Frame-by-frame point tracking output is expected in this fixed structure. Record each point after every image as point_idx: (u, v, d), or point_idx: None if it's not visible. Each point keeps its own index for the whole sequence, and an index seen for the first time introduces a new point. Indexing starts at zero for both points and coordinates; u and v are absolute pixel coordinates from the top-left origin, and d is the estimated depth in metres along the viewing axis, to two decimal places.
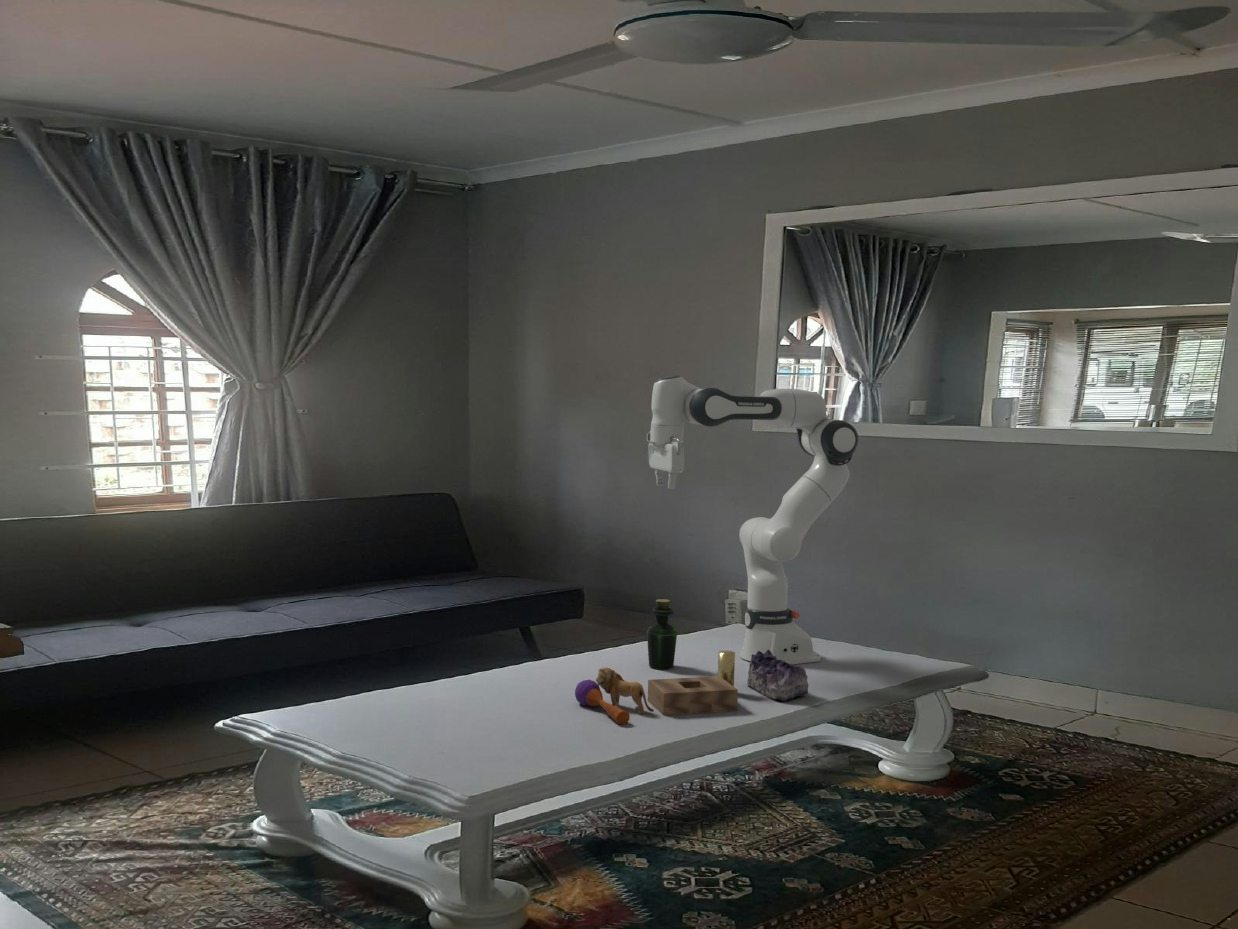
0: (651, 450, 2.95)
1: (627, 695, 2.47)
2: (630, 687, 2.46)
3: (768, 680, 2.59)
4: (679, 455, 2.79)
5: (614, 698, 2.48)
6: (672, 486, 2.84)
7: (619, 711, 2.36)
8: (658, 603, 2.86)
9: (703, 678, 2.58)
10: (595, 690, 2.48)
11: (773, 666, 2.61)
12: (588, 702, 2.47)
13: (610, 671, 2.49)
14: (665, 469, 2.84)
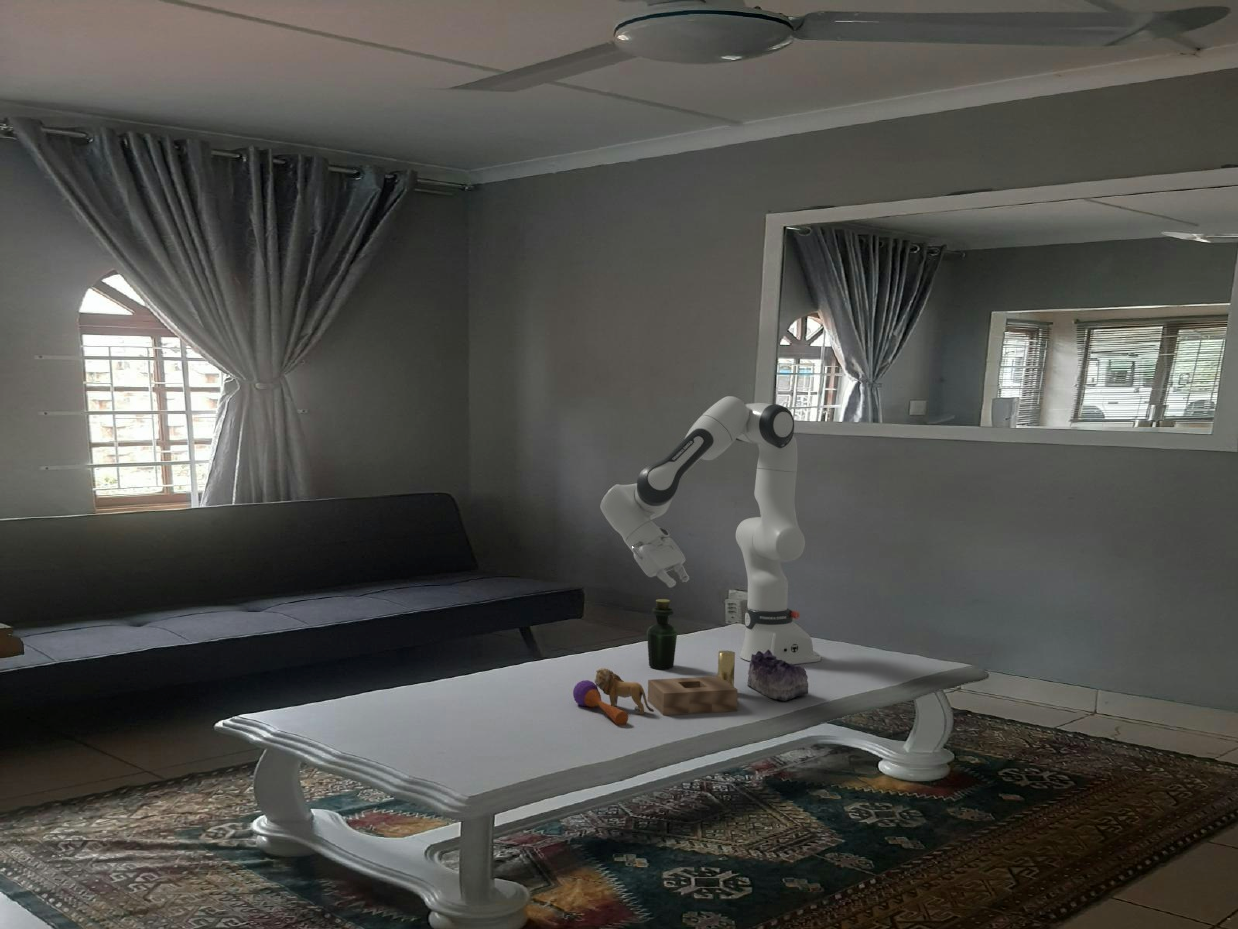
0: None
1: (626, 696, 2.47)
2: (630, 688, 2.45)
3: (768, 680, 2.59)
4: (643, 558, 2.61)
5: (613, 699, 2.48)
6: (670, 583, 2.63)
7: (618, 711, 2.36)
8: (658, 603, 2.86)
9: (703, 678, 2.58)
10: (593, 691, 2.47)
11: (773, 666, 2.61)
12: (586, 703, 2.47)
13: (608, 672, 2.48)
14: None
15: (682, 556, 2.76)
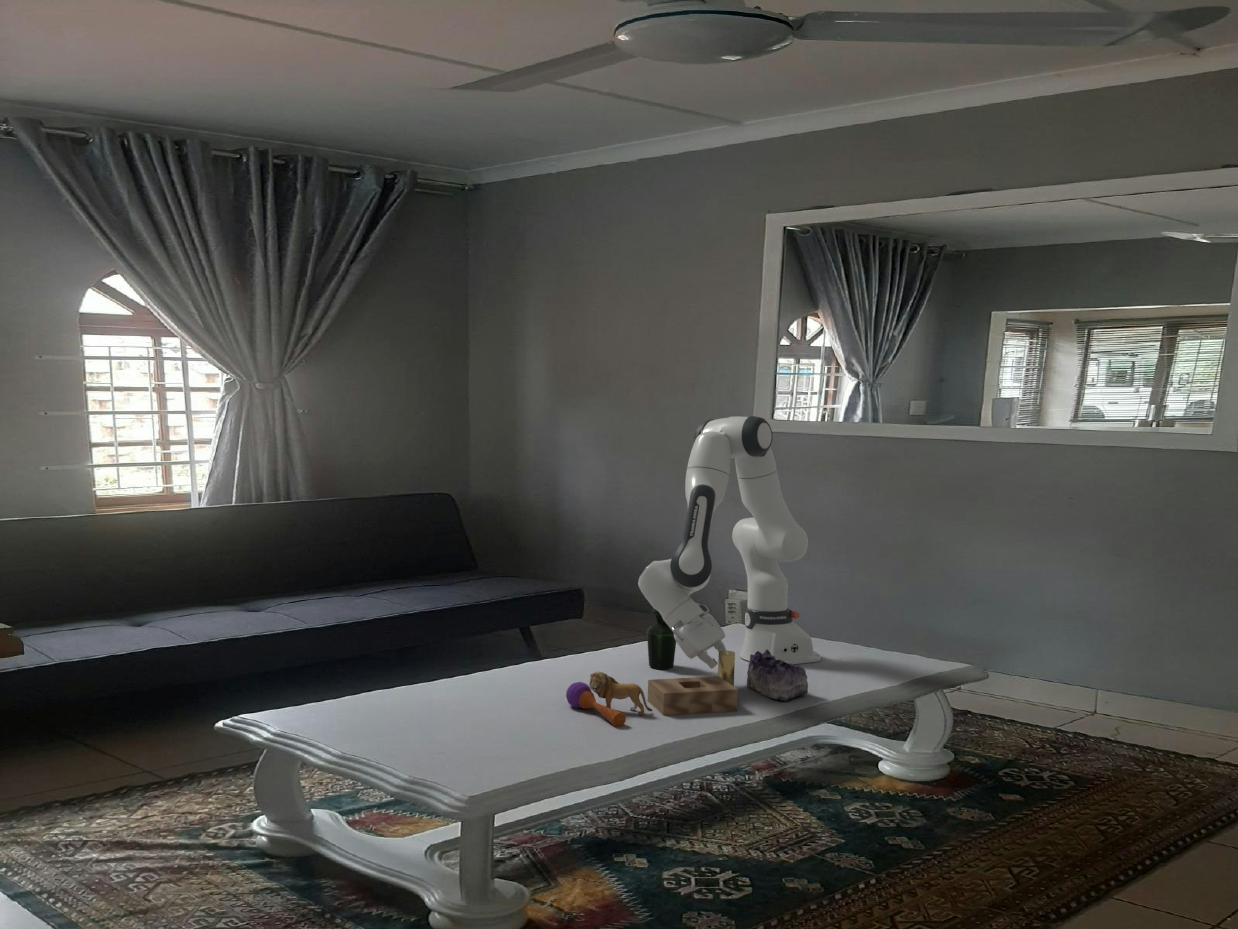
0: None
1: (624, 697, 2.45)
2: (629, 689, 2.44)
3: (768, 680, 2.59)
4: (684, 640, 2.57)
5: (610, 702, 2.45)
6: (712, 664, 2.59)
7: (616, 713, 2.35)
8: None
9: (703, 678, 2.58)
10: (588, 692, 2.46)
11: (773, 666, 2.61)
12: (581, 704, 2.45)
13: (604, 675, 2.46)
14: None
15: (722, 632, 2.73)
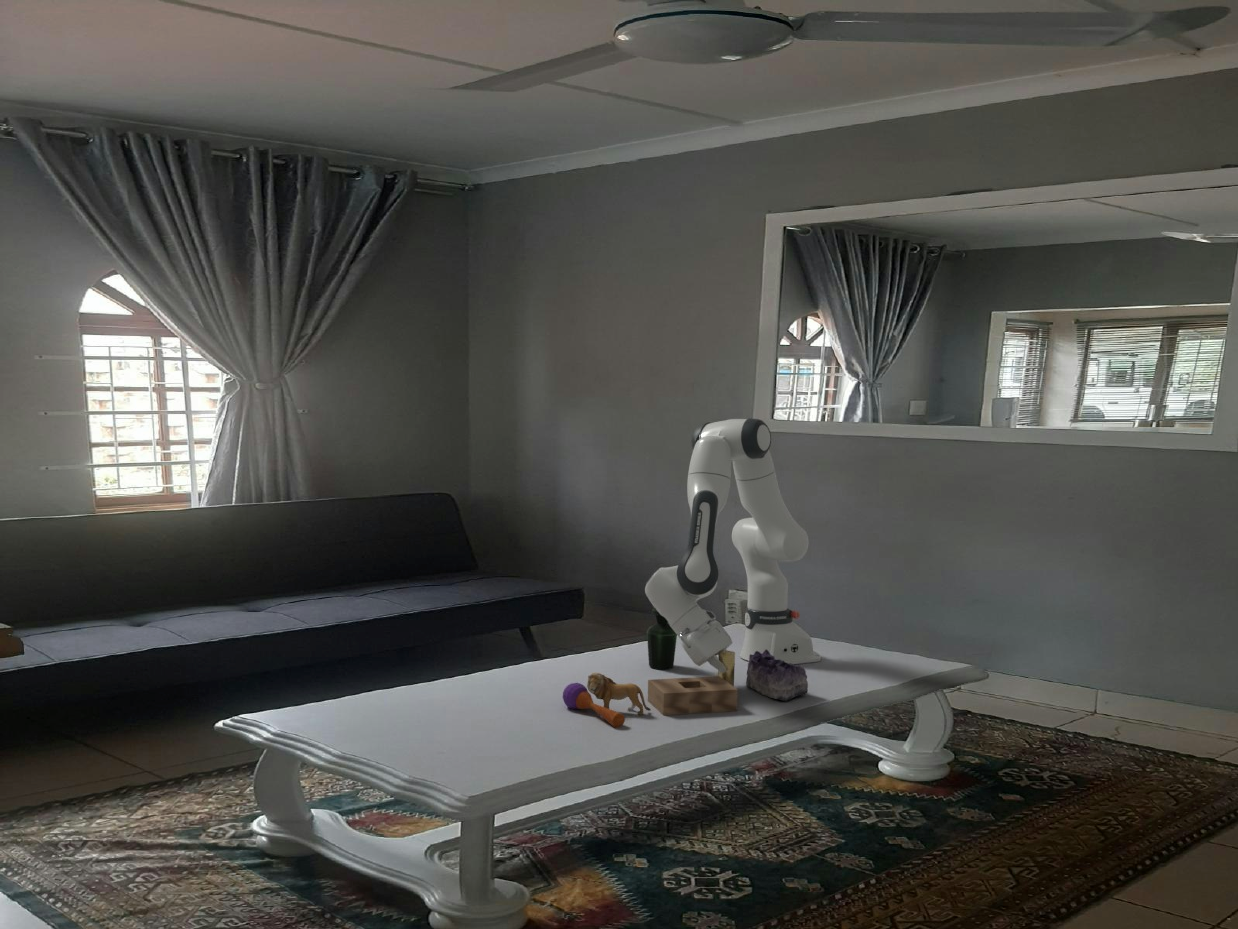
0: None
1: (622, 698, 2.45)
2: (628, 690, 2.44)
3: (769, 680, 2.59)
4: (691, 647, 2.57)
5: (608, 703, 2.45)
6: (722, 669, 2.60)
7: (615, 713, 2.34)
8: None
9: (703, 678, 2.58)
10: (585, 693, 2.45)
11: (773, 666, 2.61)
12: (578, 705, 2.44)
13: (602, 676, 2.45)
14: None
15: (729, 639, 2.72)
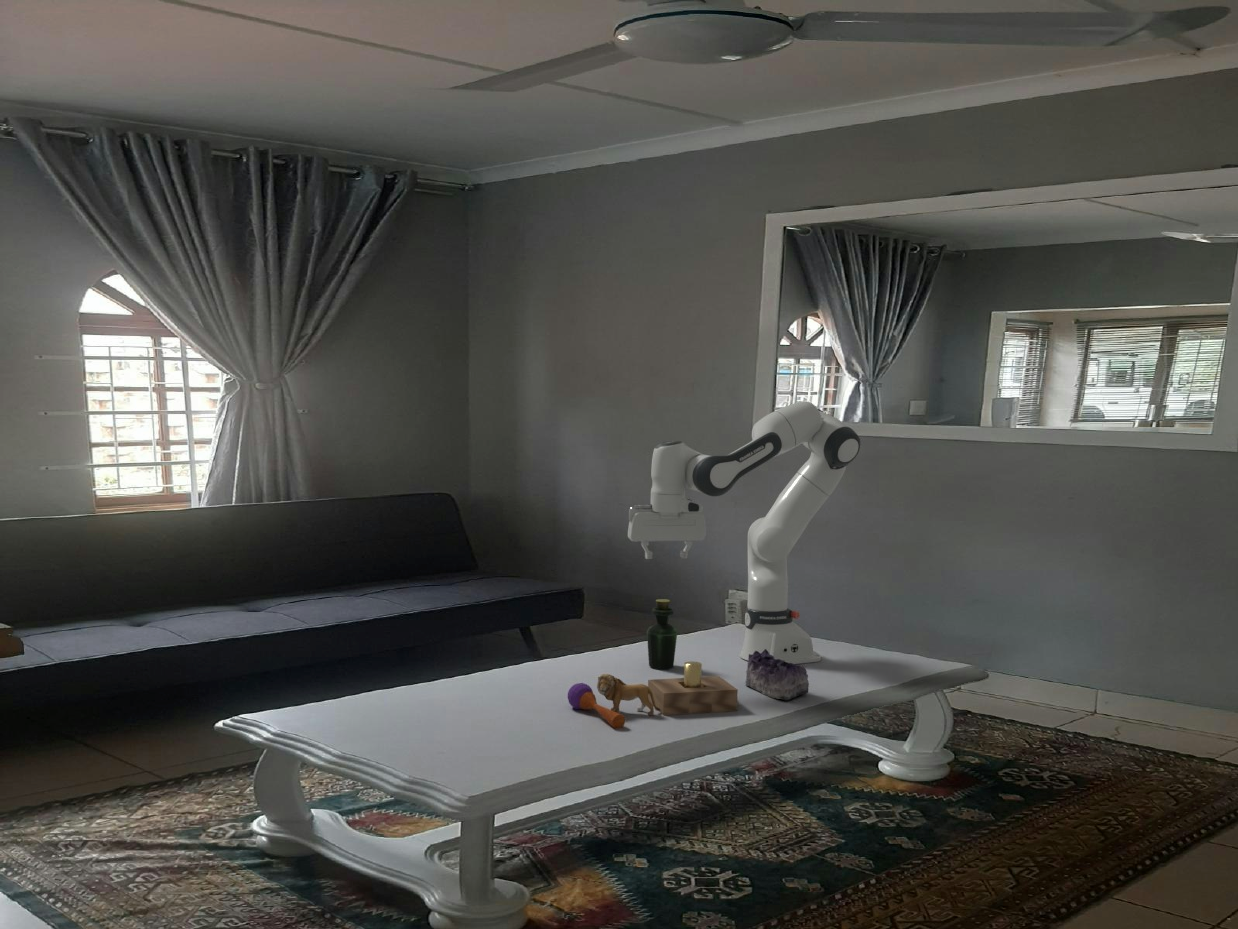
0: None
1: (632, 698, 2.45)
2: (638, 690, 2.44)
3: (770, 680, 2.59)
4: (630, 523, 2.71)
5: (618, 704, 2.44)
6: (646, 555, 2.73)
7: (615, 715, 2.34)
8: (658, 603, 2.86)
9: (703, 678, 2.58)
10: (589, 693, 2.45)
11: (774, 666, 2.62)
12: (581, 706, 2.44)
13: (612, 677, 2.44)
14: None
15: (700, 535, 2.75)
